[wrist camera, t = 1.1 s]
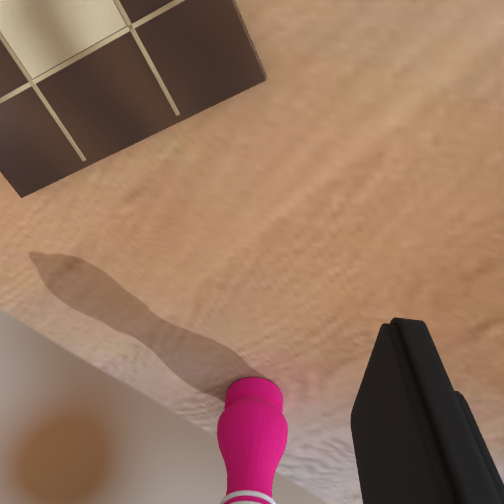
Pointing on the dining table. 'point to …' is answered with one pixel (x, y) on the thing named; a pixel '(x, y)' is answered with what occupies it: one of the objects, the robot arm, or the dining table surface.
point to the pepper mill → (252, 439)
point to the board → (109, 77)
